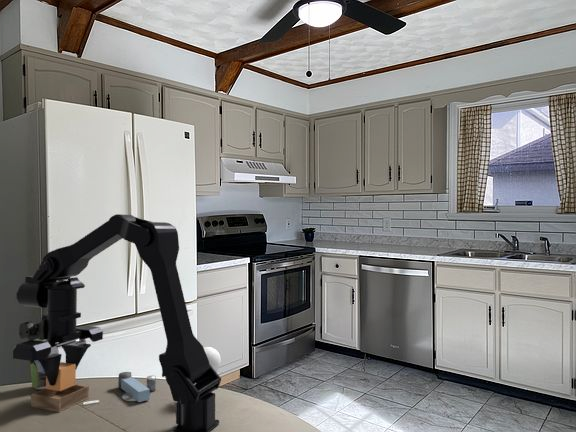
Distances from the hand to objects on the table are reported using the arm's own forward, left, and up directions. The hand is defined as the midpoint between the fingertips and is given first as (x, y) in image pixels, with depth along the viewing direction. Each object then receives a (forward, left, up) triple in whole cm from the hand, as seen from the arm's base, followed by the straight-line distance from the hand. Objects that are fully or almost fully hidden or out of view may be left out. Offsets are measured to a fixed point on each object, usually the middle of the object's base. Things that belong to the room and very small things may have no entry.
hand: (61, 381), depth 95 cm
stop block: (0, 0, -1) cm, 1 cm away
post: (-14, -12, -4) cm, 19 cm away
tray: (0, 0, -4) cm, 4 cm away
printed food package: (+11, -6, -5) cm, 13 cm away
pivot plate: (-13, -8, -4) cm, 16 cm away
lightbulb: (-28, -13, -5) cm, 31 cm away
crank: (-11, -9, -4) cm, 15 cm away
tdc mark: (-6, -2, -4) cm, 8 cm away
